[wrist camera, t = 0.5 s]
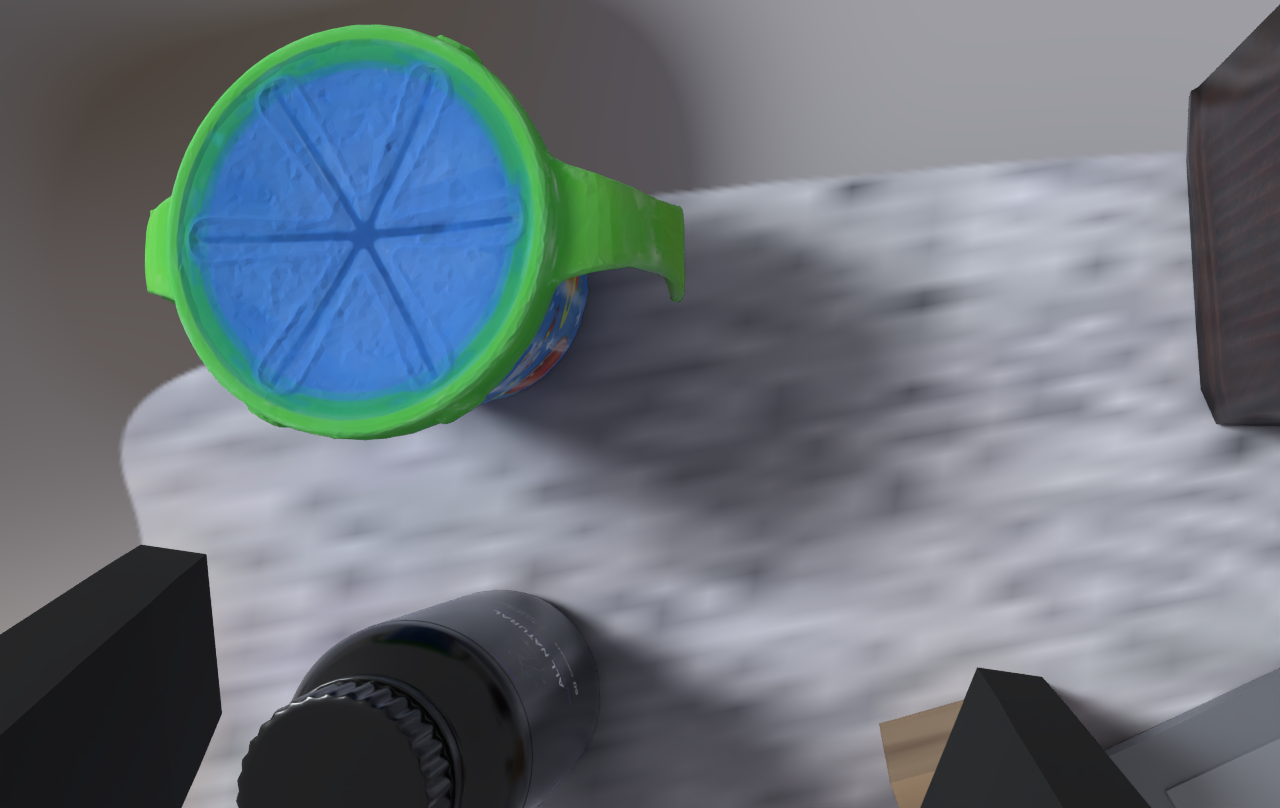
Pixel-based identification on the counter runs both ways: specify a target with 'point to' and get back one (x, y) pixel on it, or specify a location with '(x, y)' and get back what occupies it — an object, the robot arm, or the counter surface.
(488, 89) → the snack cup
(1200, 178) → the manual coffee grinder
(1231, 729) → the coaster
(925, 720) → the block
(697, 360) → the counter surface
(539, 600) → the supplement bottle
